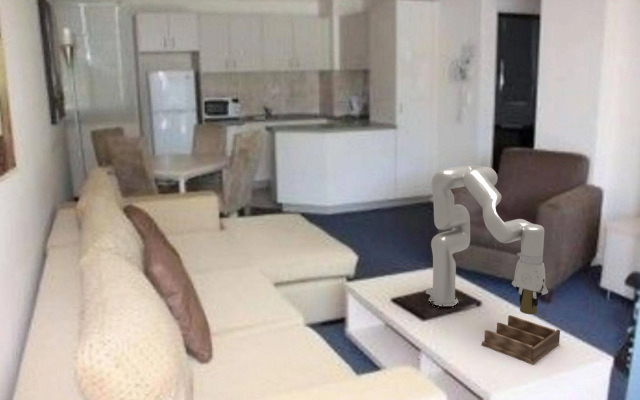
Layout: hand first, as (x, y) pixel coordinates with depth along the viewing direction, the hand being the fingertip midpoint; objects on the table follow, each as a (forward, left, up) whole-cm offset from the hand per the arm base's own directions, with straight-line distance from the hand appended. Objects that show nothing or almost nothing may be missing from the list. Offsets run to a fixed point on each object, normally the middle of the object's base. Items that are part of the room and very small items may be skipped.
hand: (528, 305), depth 210 cm
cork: (0, 0, -2) cm, 2 cm away
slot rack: (0, -4, -14) cm, 15 cm away
